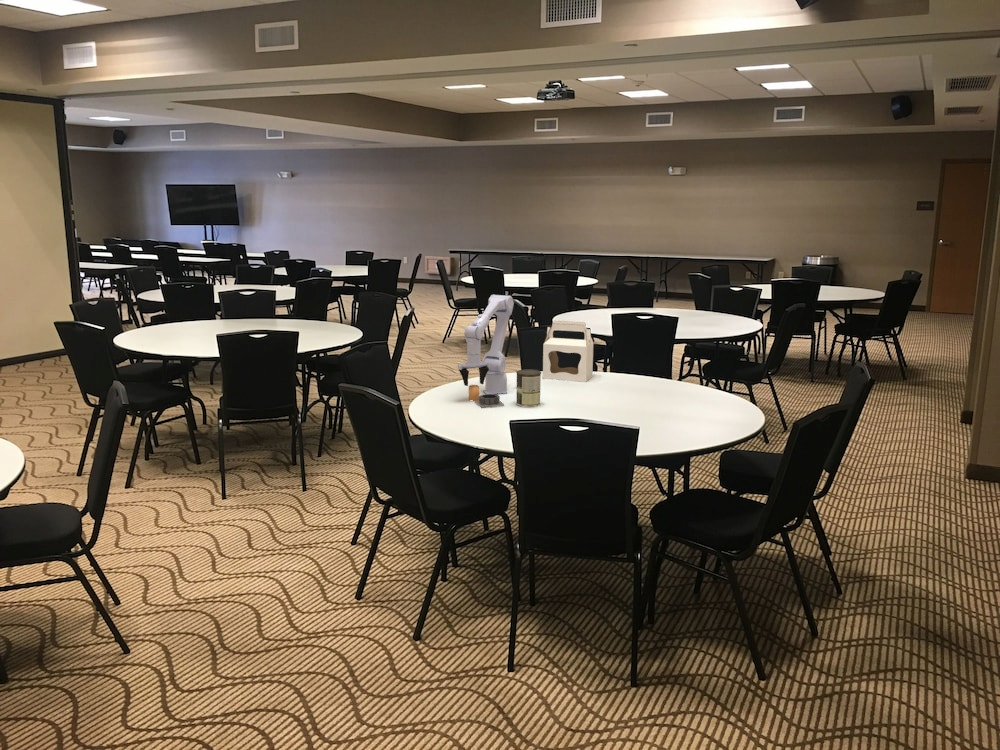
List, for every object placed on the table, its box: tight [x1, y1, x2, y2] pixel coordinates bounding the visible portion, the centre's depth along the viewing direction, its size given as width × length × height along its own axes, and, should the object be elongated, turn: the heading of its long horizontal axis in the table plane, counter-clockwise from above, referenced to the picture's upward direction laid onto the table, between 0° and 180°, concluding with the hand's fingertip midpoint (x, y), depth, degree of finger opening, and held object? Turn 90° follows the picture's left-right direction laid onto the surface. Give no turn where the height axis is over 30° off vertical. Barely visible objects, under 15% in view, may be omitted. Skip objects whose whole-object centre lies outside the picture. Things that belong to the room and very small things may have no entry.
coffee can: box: [515, 368, 542, 408], centre depth 323 cm, size 10×10×14 cm
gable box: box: [542, 320, 594, 383], centre depth 375 cm, size 22×13×28 cm, turn 70°
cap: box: [468, 384, 480, 402], centre depth 331 cm, size 4×4×6 cm
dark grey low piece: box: [474, 393, 505, 409], centre depth 323 cm, size 10×10×4 cm
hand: (473, 384), depth 331 cm, fingers open, 7 cm apart
